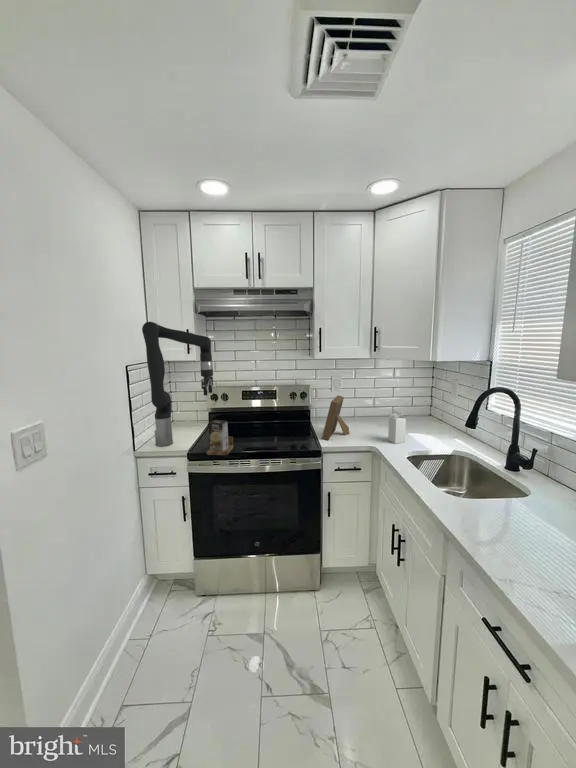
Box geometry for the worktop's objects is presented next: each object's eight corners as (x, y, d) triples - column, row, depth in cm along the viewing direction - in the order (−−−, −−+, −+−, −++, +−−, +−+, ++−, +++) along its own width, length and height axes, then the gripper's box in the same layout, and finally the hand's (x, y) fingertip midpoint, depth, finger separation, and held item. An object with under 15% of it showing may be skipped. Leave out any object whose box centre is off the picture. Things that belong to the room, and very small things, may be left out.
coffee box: (209, 449, 186) (207, 422, 183) (215, 445, 192) (213, 419, 189) (223, 451, 183) (222, 423, 180) (229, 447, 189) (227, 420, 186)
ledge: (206, 454, 183) (206, 442, 182) (213, 447, 195) (213, 436, 194) (227, 455, 182) (226, 443, 181) (233, 447, 194) (232, 436, 193)
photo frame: (321, 439, 205) (322, 400, 201) (329, 430, 225) (329, 394, 222) (345, 442, 200) (346, 402, 197) (350, 432, 221) (351, 396, 217)
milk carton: (397, 439, 203) (398, 409, 200) (405, 442, 197) (406, 412, 194) (388, 440, 201) (388, 410, 198) (395, 444, 194) (396, 413, 192)
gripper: (205, 367, 210) (206, 392, 213) (196, 369, 196) (198, 396, 199) (216, 367, 209) (217, 392, 212) (208, 369, 195) (209, 396, 198)
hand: (208, 394), depth 205 cm, fingers open, 8 cm apart
